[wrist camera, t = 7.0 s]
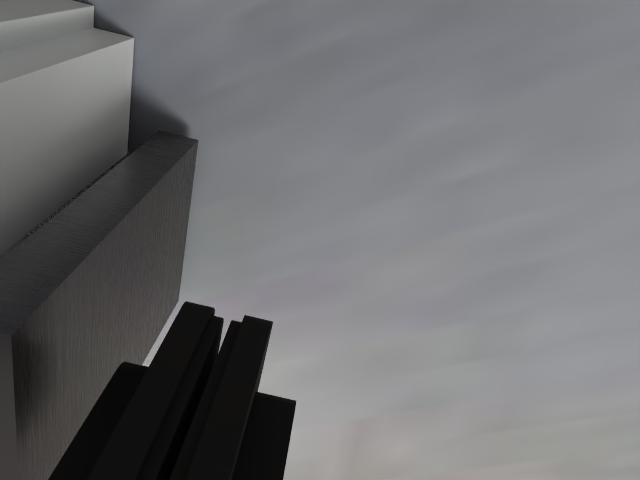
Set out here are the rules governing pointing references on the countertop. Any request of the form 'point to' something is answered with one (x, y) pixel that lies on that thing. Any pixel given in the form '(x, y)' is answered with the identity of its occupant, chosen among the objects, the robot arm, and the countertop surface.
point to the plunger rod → (89, 299)
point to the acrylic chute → (57, 108)
